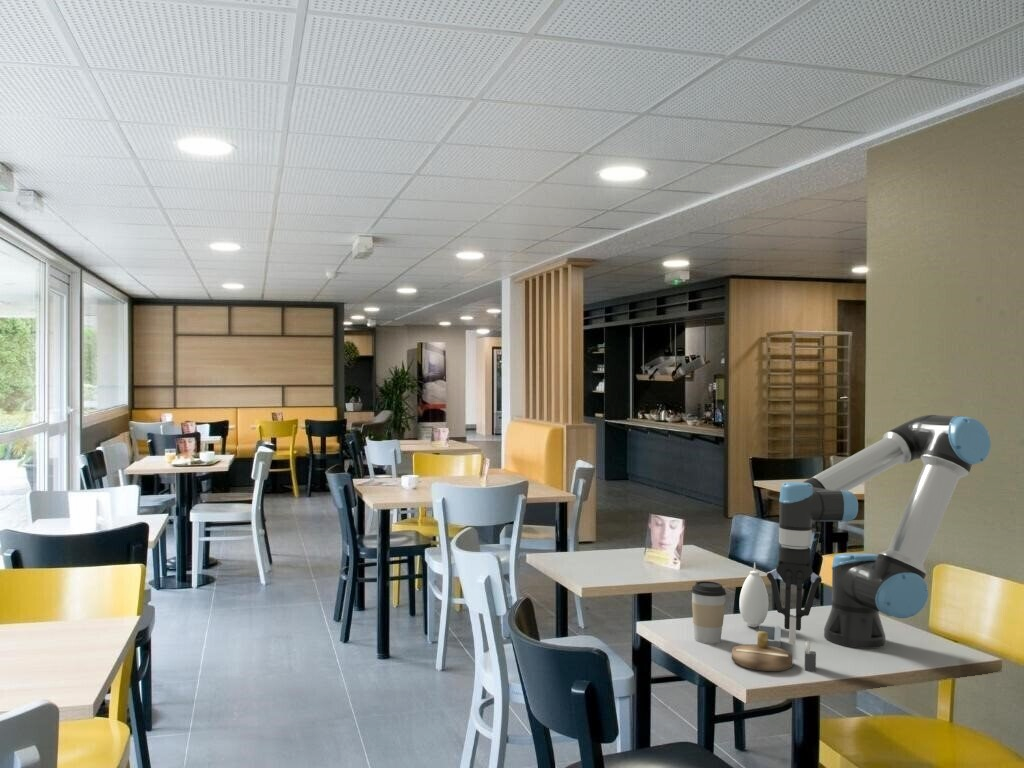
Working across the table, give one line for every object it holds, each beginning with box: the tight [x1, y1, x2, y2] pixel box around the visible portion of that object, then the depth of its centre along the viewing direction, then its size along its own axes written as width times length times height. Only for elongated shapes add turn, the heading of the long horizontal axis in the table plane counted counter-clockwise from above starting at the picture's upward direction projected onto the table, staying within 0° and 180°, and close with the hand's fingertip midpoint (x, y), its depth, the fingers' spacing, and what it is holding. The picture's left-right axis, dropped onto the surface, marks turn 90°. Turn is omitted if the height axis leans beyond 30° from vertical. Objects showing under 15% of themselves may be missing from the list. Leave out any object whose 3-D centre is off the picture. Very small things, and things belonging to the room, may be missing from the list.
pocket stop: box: [758, 624, 782, 649], centre depth 216 cm, size 6×14×4 cm, turn 162°
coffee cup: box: [690, 580, 727, 644], centre depth 220 cm, size 9×9×15 cm
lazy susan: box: [731, 630, 793, 672], centre depth 202 cm, size 14×14×5 cm
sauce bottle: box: [738, 562, 769, 628], centre depth 234 cm, size 8×8×18 cm
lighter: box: [804, 640, 817, 672], centre depth 198 cm, size 2×3×7 cm
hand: (792, 642), depth 204 cm, fingers closed
